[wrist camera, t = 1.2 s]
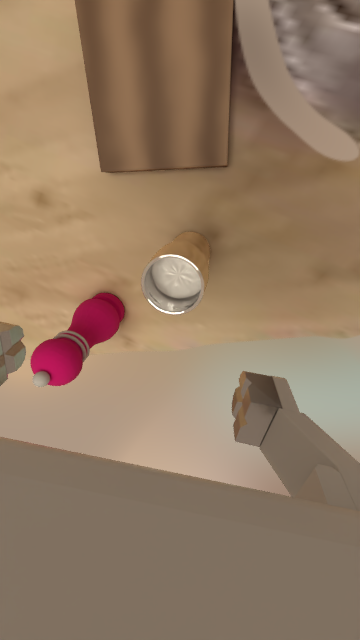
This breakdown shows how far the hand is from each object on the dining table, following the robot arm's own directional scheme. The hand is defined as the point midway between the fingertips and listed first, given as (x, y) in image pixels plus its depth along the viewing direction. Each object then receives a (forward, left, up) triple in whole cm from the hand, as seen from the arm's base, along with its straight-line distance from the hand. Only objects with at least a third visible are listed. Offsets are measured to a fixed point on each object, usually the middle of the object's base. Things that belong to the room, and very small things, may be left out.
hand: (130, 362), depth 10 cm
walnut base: (+5, -16, -32) cm, 36 cm away
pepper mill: (+17, +13, -33) cm, 39 cm away
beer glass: (+2, +3, -33) cm, 33 cm away
